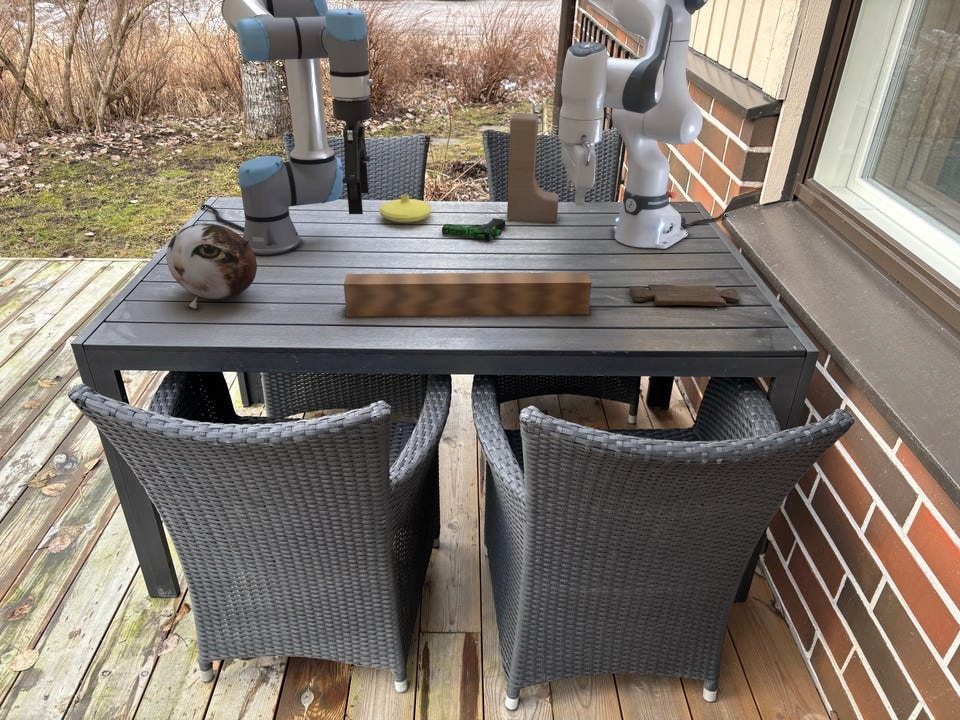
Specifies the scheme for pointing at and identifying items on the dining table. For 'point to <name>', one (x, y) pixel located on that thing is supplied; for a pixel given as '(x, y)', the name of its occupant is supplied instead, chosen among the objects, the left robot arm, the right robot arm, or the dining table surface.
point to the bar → (467, 294)
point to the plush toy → (211, 261)
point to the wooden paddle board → (684, 295)
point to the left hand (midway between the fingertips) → (359, 203)
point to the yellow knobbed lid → (405, 210)
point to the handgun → (476, 230)
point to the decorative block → (527, 174)
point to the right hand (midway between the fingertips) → (575, 196)
